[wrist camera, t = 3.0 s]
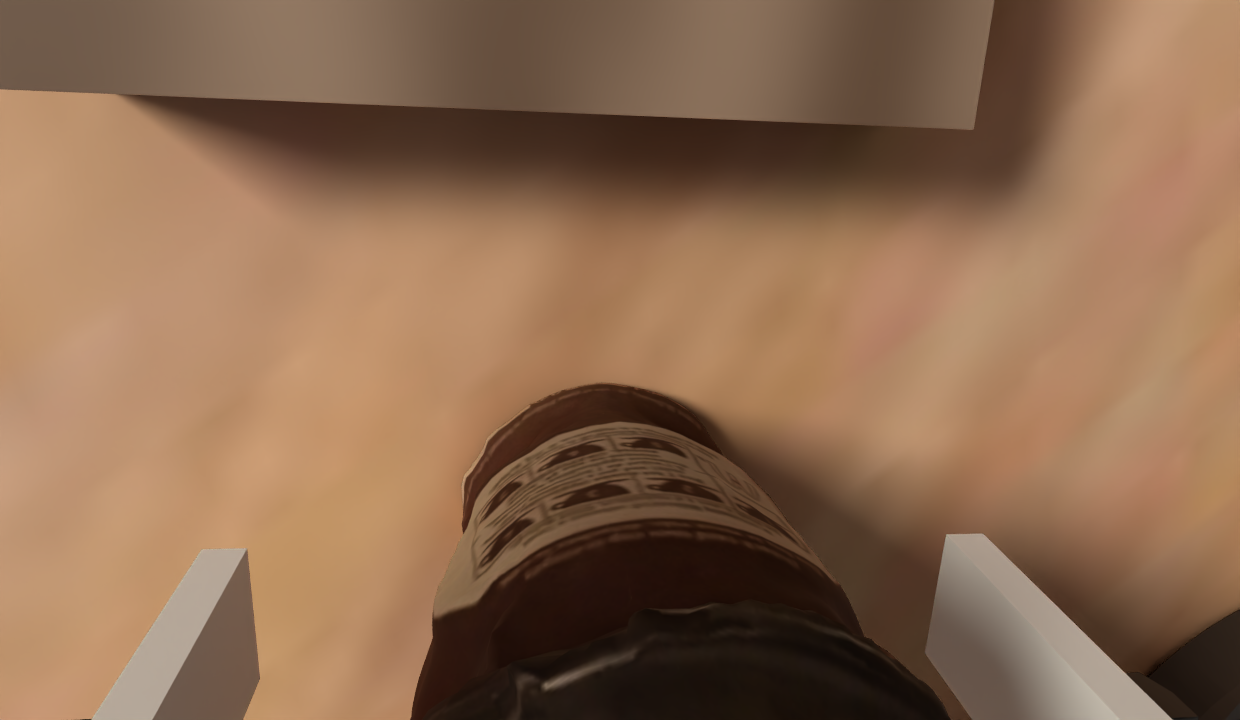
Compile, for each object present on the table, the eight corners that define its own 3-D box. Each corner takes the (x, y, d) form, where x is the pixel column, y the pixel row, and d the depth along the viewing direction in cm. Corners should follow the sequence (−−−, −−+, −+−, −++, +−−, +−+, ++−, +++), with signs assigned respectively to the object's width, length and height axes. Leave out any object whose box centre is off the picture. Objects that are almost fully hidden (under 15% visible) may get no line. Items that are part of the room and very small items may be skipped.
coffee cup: (392, 340, 19) (178, 796, 7) (759, 304, 20) (1143, 661, 8) (444, 669, 22) (355, 1410, 10) (765, 627, 23) (1058, 1269, 11)
